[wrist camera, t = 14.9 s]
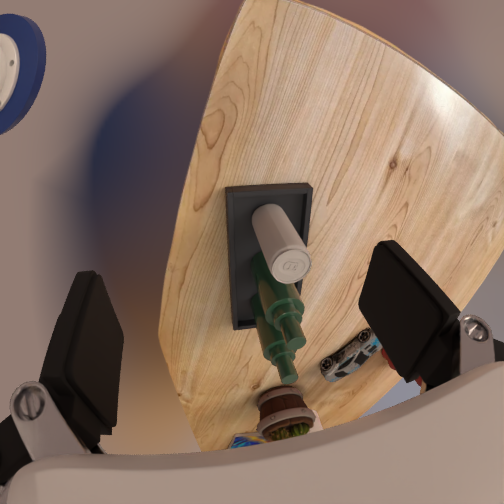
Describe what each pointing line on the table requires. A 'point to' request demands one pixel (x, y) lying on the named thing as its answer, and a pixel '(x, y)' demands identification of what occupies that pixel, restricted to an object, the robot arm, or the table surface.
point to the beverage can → (281, 244)
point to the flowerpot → (283, 414)
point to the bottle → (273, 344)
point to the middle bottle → (279, 303)
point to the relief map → (247, 440)
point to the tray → (245, 240)
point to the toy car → (351, 357)
